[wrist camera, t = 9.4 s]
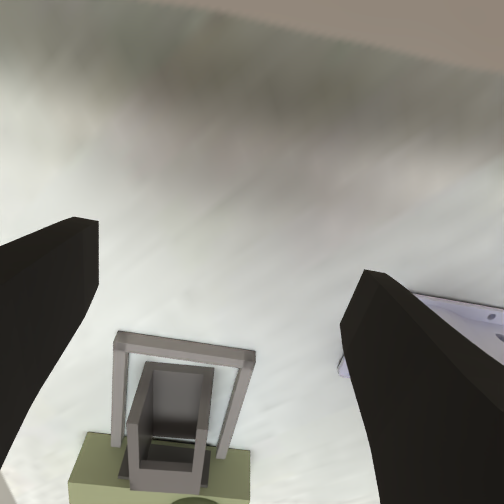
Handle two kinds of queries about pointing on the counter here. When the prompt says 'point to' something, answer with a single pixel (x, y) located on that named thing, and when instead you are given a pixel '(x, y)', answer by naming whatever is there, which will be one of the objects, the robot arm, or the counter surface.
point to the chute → (169, 425)
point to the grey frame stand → (116, 449)
